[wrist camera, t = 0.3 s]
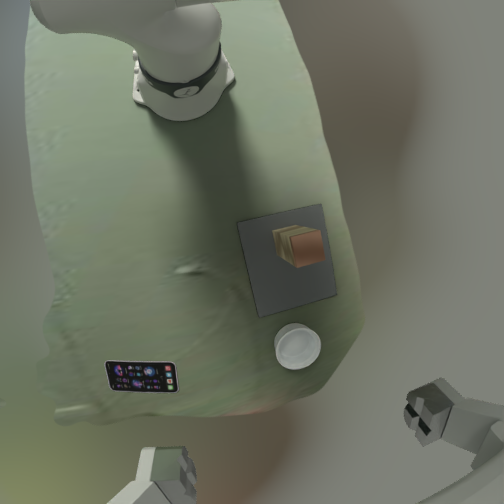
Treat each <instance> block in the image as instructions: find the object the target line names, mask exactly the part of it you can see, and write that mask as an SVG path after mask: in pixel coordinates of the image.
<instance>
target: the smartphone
mask: <svg viewBox="0 0 504 504" xmlns="http://www.w3.org/2000/svg"><path fill="white" fill-rule="evenodd" d="M105 369H106V374H107V378H108V383H109V387H110V388H111V389H112V390H113V391H122V392H147V393H176V392H177V391H178V390H179V386H178V379H177V371H176V365H175V363H173V362H170V361H168V362H167V361H116V360H107V361H106V362H105Z"/></svg>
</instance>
